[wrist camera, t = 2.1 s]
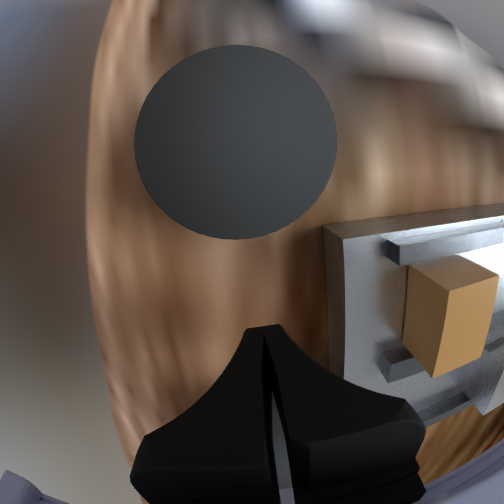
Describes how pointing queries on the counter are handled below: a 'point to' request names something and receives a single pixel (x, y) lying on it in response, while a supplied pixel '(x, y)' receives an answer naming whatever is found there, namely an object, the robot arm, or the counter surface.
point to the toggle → (448, 312)
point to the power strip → (394, 305)
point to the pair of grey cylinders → (237, 151)
